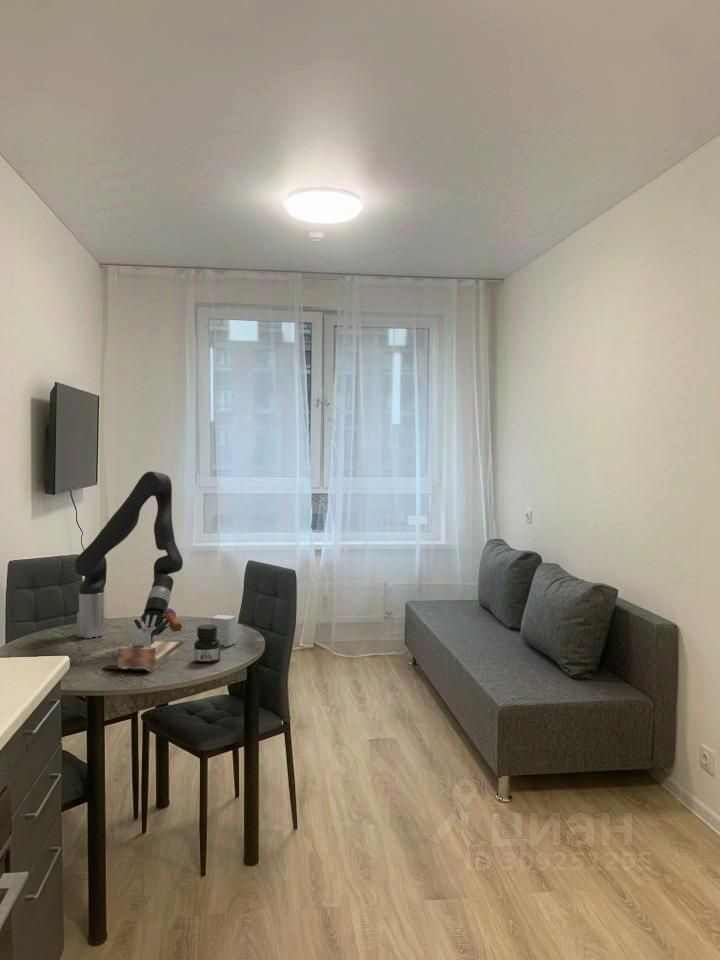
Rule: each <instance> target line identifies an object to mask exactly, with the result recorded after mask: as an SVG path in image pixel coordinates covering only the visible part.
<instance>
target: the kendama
mask: <svg viewBox="0 0 720 960" xmlns="http://www.w3.org/2000/svg"><path fill="white" fill-rule="evenodd" d="M165 617H166V620H169V622H170V623H171V624H172V628H173V630H174V631H176V630H178V631H181V630H182V627H183V625H182V624H181V623H180V622H179V621H177V620H176V617H177V614H176V612H175V610H174V609H173V608H167V612H166V615H165Z"/></svg>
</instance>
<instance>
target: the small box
mask: <svg viewBox="0 0 720 960" xmlns="http://www.w3.org/2000/svg"><path fill="white" fill-rule="evenodd" d="M210 624H211V625H216V626H217V637H216V638H217V639H218V640H219V641H220V645H227V646H230V645H232V644H234V643H235V644H237V616H235V615H227V614H224V615H223V614H217V615H214V616H212V617H210ZM235 644H234V645H235ZM227 646H226V647H227ZM232 646H233V645H232ZM230 647H231V646H230Z"/></svg>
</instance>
